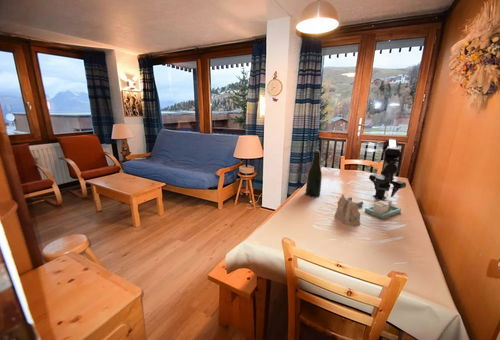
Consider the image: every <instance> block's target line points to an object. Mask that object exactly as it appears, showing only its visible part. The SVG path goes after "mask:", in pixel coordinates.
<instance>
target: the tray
mask: <svg viewBox="0 0 500 340" xmlns="http://www.w3.org/2000/svg"><path fill="white" fill-rule="evenodd" d="M373 207H374V204H373V205H371V206H367V207H365V209H364V212H365V213H367V214H369V215H372V216H373V217H376V218H377V219H380V220H385V219H386V218H389V217H393V216H395V215H397V214H400V213H401V211H402V208H400V207H398V206H396V205H392V204H391V208H390V210H388V212H387V213H385V214H380V213H378V212H375V211H373Z"/></svg>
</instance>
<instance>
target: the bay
mask: <svg viewBox="0 0 500 340" xmlns="http://www.w3.org/2000/svg"><path fill="white" fill-rule="evenodd" d="M345 199H346V200H348V202H349V200H351V202H352V203H356V204H357V206H358V208H360V207H363V204H364V201H362V200H360V201H357V202H354V201H353V196H349V197H345Z"/></svg>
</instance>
